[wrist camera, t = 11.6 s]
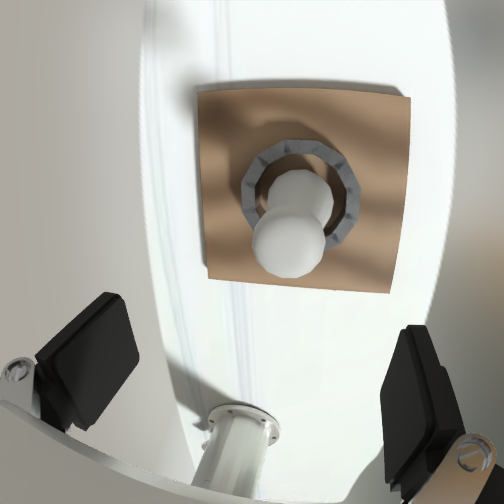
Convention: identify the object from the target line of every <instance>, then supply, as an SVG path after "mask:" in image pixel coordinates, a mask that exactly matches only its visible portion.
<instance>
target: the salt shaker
mask: <svg viewBox="0 0 504 504" xmlns="http://www.w3.org/2000/svg"><path fill="white" fill-rule="evenodd" d="M333 203H334V201H333V197H332V193H331V189H330V187H329V185H328V184H327V183H326V182H325V181H324V180H323V179H322V178H321V176H319V175H317V174H315V173H313V172H310V171H308V170H306V169H304V170H290V171H288V172H286V173H284V174H282V175H280V176H278V177H277V178H276V180H275V181H274V183H273V184H272V186H271V187H270V189H269V193H268V199H267V212H266V213H265V214H264V215H263V216H262V218H261V219H260V220H259V222H258V223H257V225H256V226H255V228H254V235H253V241H252V249H253V251H254V254H255V257H256V260H257V261H258V263H259V264H260V265H261V266H262V267H263V268H264V269H265V270H266V271H267V272H269V273H271V274H274V275H276V276H278V277H281V278H298V277H300V276H303V275H305V274H307V273H309V272H311V271H312V270H313V269H314V267H315V266H316V265H317V264H318V263H319V262H320V261H321V259H322V256H323V252H324V247H325V243H326V241H325V236H324V232H323V228H324V227H325V225H326V223H327V222H328V220H329V218H330V217H331V213H332V208H333Z"/></svg>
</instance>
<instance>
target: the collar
mask: <svg viewBox="0 0 504 504" xmlns="http://www.w3.org/2000/svg"><path fill="white" fill-rule="evenodd" d="M287 154H310V155H315V156H317V157H318V158H320V159H322V160H323V161H325V162H326V163H328V164H329V165H331V166H333V167H334V168H336V170H337V172H338V174H339V176H340V178H341V180H342V182H343V184H344V186H345V195H344V208H343V209H342V211H341V212H340V213H339V215H338V216H337V218H336V219H335V221H334V222H333V224H332V225H331V226H329V227H327V228H324V229H323V232H324V236H325V241H326V243H325V247H324V251H326V250H329V249H331V248H333V247H335V246H337V245H340V244H341V243H342V242H343V240H344V239H345V237H346V236H347V235H348V233H349V232H350V231H351V229H352V228H353V226H354V225H355V224H356V222H357V221H358V219H359V208H360V196H361V187H360V185H359V183H358V181H357V179H356V177H355V175H354V173H353V171H352V169H351V167H350V165H349V163H348V161H347V159H346V158H345V156H343V155H342V154H340V153H339V152H337V151H336V150H334V149H333V148H331V147H330V146H328V145H326V144H325V143H323V142H322V141H320V140H318V139H294V138H287V139H285V140H283V141H281V142H279V143H277V144H276V145H274V146H272V147H270V148H268V149H267V150H265V151H263V152H261V153H259V154H258V155H256V157H255V159H254V160H253V162H252V164H251V166H250V167H249V169H248V171H247V173H246V175H245V176H244V178H243V180H242V182H241V193H242V213H243V215H244V217H245V218H246V220H247V222H248V223H249V225H250V227H251V228H252V230H253V232H254V228H255V226H256V225H257V223H258V222H259V220H260V219H261V218H262V216H263V215H264V214H265V213H266V211H265V210H264V208H263V206H262V205H261V203H260V180H261V179H262V177H263V175H264V174H265V172H266V170H267V168H268V167H269V165H270V163H272V162H274V161H276V160H277V159H279V158H281V157H283V156H285V155H287Z"/></svg>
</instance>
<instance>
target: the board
mask: <svg viewBox="0 0 504 504" xmlns="http://www.w3.org/2000/svg"><path fill="white" fill-rule="evenodd" d="M410 118H411V98H410V97H404V96H397V95H389V94H381V93H373V92H363V91H352V90H338V89H319V88H252V89H233V90H219V91H208V92H198V125H199V150H200V170H201V188H202V204H203V219H204V232H205V245H206V257H207V269H208V279H216V280H226V281H236V282H247V283H257V284H268V285H280V286H291V287H303V288H316V289H329V290H343V291H357V292H372V293H388V294H390V289H391V284H392V279H393V274H394V269H395V264H396V258H397V253H398V247H399V241H400V234H401V227H402V220H403V213H404V205H405V196H406V186H407V175H408V162H409V146H410ZM287 138H294V139H318V140H320V141H322V142H323V143H325V144H326V145H328V146H330V147H331V148H333V149H334V150H336V151H337V152H339V153H340V154H342V155H343V156H345V158H346V159H347V161H348V163H349V165H350V167H351V169H352V171H353V173H354V175H355V177H356V179H357V181H358V183H359V185H360V187H361V196H360V208H359V219H358V221H357V222H356V224H355V225H354V226H353V228H352V229H351V231H350V232H349V233H348V235H347V236H346V237H345V239H344V240H343V242H342V243H341V244H340V245H337V246H335V247H333V248H331V249H329V250H326V251H324V252H323V256H322V259H321V261H320V262H319V263H318V264H317V265H316V266H315V267H314V269H313V270H312V271H311V272H309V273H307V274H305V275H303V276H300V277H298V278H281V277H278V276H276V275H274V274H271V273H269V272H267V271H266V270H265V269H264V268H263V267H262V266H261V265H260V264H259V263H258V261H257V260H256V257H255V254H254V251H253V249H252V241H253V235H254V232H253V230H252V228H251V227H250V225H249V223H248V222H247V220H246V218H245V217H244V215H243V213H242V193H241V182H242V180H243V178H244V176H245V175H246V173H247V171H248V169H249V167H250V166H251V164H252V162H253V160H254V159H255V157H256V155H258V154H259V153H261V152H263V151H265V150H267V149H268V148H270V147H272V146H274V145H276V144H277V143H279V142H281V141H283V140H285V139H287ZM304 169H306V170H308V171H310V172H313V173H315V174H317V175H319V176H321V178H322V179H323V180H324V181H325V182H326V183H327V184H328V185H329V187H330V189H331V193H332V197H333V201H334V203H333V208H332V213H331V217H330V218H329V220H328V222H327V223H326V225H325V227H324V228H327V227H329V226H331V225H332V224H333V222H334V221H335V219H336V218H337V216H338V215H339V213H340V212H341V211H342V209H343V208H344V195H345V186H344V184H343V182H342V180H341V178H340V176H339V174H338V172H337V170H336V168H334V167H333V166H331V165H329V164H328V163H326V162H325V161H323V160H322V159H320V158H318V157H317V156H315V155H310V154H287V155H285V156H283V157H281V158H279V159H277V160H276V161H274V162H272V163H270V165H269V167H268V168H267V170H266V172H265V174H264V175H263V177H262V179H261V180H260V203H261V205H262V206H263V208H264V210H265V211H266V212H267V199H268V193H269V189H270V187H271V186H272V184H273V183H274V181H275V180H276V178H277V177H278V176H280V175H282V174H284V173H286V172H288V171H290V170H304ZM324 228H323V229H324Z"/></svg>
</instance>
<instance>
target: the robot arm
mask: <svg viewBox="0 0 504 504" xmlns="http://www.w3.org/2000/svg"><path fill="white" fill-rule="evenodd" d="M35 358H36V360H37V362H38V363H37V364H36V365H35V364H34V362H33V361H32V360H31V359H29V358H26V357H19V358H16V359H14V360H12V361H10V362H9V363H8V364H7V365H6V366H5V367H4V368H3V371H2V373H1V377H0V504H282V503H274V502H267V501H261V500H255V499H254V497H255V494H256V490H257V486H258V483H259V479H260V475H261V471H262V467H263V463H264V459H265V455H266V451H267V447H268V446H270V445H272V444H274V443H275V442H276V441H277V440H278V439H279V436H280V427H279V425H278V423H277V422H276V421H275V420H274V419H273V418H272V417H271V416H269V415H268V414H266V413H264V412H262V411H260V410H258V409H255V408H252V407H248V406H243V405H232V404H231V405H223V406H219V407H216V408H215V409H213V410H212V411H211V413H210V414H209V417H208V424H209V427H210V428H211V430H212V434H211V436H210V439H209V441H206V442H204V443H202V449H203V450H204V454H203V456H202V459H201V461H200V464H199V466H198V469H197V471H196V474H195V476H194V478H193V481H192V483H191V485H188V484H185V483H182V482H179V481H175V480H172V479H169V478H166V477H163V476H160V475H157V474H154V473H151V472H149V471H146V470H143V469H140V468H138V467H135V466H133V465H130V464H128V463H125V462H123V461H121V460H118V459H116V458H114V457H111V456H109V455H107V454H105V453H102V452H100V451H98V450H96V449H94V448H92V447H90V446H88V445H86V444H84V443H82V442H80V441H78V440H76V439H74V438H72V437H71V428H70V425H71V424H72V423H74V425H75V426H76V427H78V428H80V429H83V430H84V431H87V429H88V428H89V426H90V425H93V424H95V422H96V421H97V419H98V418H99V417H100V415H101V414H102V413H103V411H104V410H105V408H106V407H107V406H108V404H109V403H110V401H111V400H112V398H113V397H114V396H115V394H116V393H117V392H118V390H119V389H120V387H121V386H122V385H123V383H124V382H125V381H126V379H127V377H128V376H129V375H130V374H131V372H132V371H133V370H134V368H135V367H136V366H137V364H138V362H139V352H138V349H137V346H136V342H135V339H134V335H133V332H132V328H131V324H130V321H129V317H128V313H127V309H126V305H125V302H124V300H123V299H122V298H121V296H120V295H119V294H115V293H110V292H104V293H102V294H101V295H100V296H99V297H98V298H97V299H96V300H94V301H93V302H92V303H91V304H90V305H89V306H87V307H86V308H85V309H84V310H83V311H82V312H81V313H80V314H79V315H77V317H75V318H74V319H73V320H72V321H71V322H70V323H69V324H67V325H66V326H65V327H64V328H63V329H62V330H61V331H60V332H59V333H58V334H57V335H56V336H55V337H53V338H52V339H51V340H50V341H49V342H48V343H47V344H46V345H45V346H44V347H43V348H42V349H41V350H40V351H39V352H38V353H37V354H36V355H35ZM380 403H381V414H382V426H383V441H384V462H385V482H386V483H387V484H388V483H390V491H391V492H394V491H401V498H402V499H403V501H402V502H401V503H400V504H504V469H503V468H502V467H500V466H498V465H497V464H495V461H496V450H495V447H494V445H493V444H492V442H491V441H490V440H489V439H488V438H487V437H485V436H484V435H481V434H478V433H468V434H466V432H465V428H464V425H463V421H462V417H461V414H460V410H459V407H458V404H457V400H456V397H455V394H454V391H453V388H452V385H451V382H450V379H449V376H448V373H447V370H446V368H445V367H443V366H441V365H440V363H439V360H438V357H437V354H436V352H435V348H434V346H433V343H432V340H431V338H430V335H429V333H428V330H427V328H426V326H425V325H408V326H407V327H406V329H402V330H401V331H400V334H399V337H398V341H397V344H396V347H395V350H394V353H393V356H392V359H391V362H390V365H389V368H388V371H387V374H386V376H385V379H384V382H383V385H382V387H381V391H380Z"/></svg>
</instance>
